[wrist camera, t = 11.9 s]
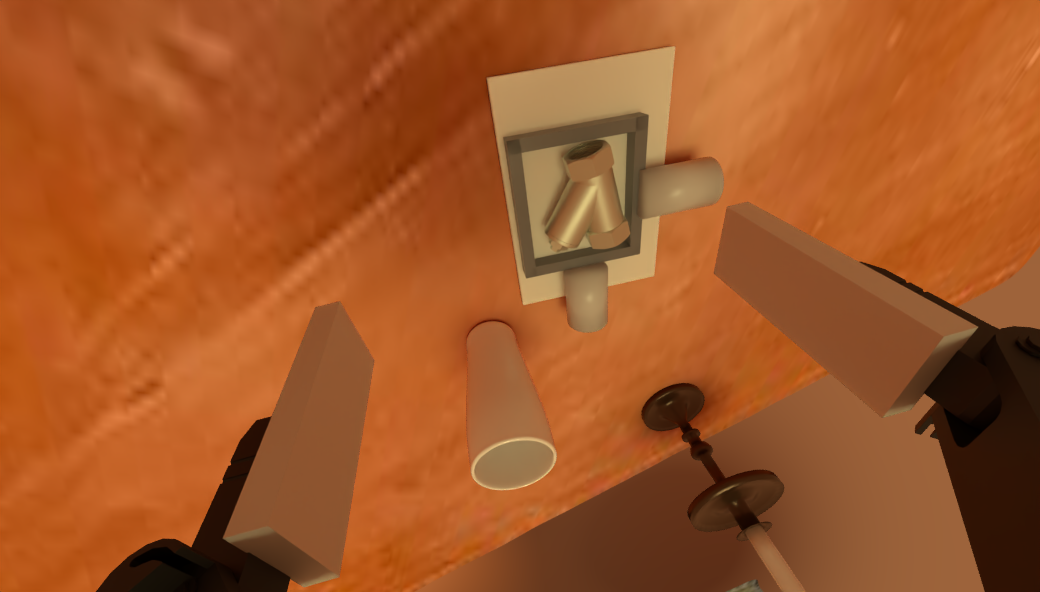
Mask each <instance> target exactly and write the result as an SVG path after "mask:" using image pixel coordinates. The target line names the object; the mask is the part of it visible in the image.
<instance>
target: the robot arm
mask: <svg viewBox="0 0 1040 592" xmlns="http://www.w3.org/2000/svg"><path fill="white" fill-rule="evenodd" d="M714 274H715V275H716V276H717V277H719V278H720V279H721V280H722V281H723V282H724V283H726V284H727V285H728V286H729V287H730V288H731V289H733V290H734V291H735V292H736V293H737V294H738V295H740V296H741V297H742V298H743V299H744V300H745V301H747V302H748V303H749V304H750V305H751V306H752V307H754V308H755V309H756V310H757V311H758V312H759V313H761V314H762V315H763V316H764V317H765V318H766V319H767V320H769V321H770V322H771V323H772V324H773V325H774V326H776V327H777V328H778V329H779V330H780V331H781V332H783V333H784V334H785V335H786V336H787V337H788V338H790V339H791V340H792V341H793V342H794V343H795V344H797V345H798V346H799V347H800V348H801V349H802V350H804V351H805V352H806V353H807V354H808V355H809V356H811V357H812V358H813V359H814V360H815V361H816V362H818V363H819V364H820V365H821V366H822V367H823V368H825V369H826V370H827V371H828V372H829V373H830V374H832V375H833V376H834V377H835V378H836V379H837V380H839V381H840V382H841V383H842V384H843V385H844V386H846V387H847V388H848V389H849V390H850V391H851V392H853V393H854V394H855V395H856V396H857V397H858V398H860V399H861V400H862V401H863V402H864V403H865V404H867V405H868V406H869V407H870V408H871V409H872V410H874V411H875V412H876V413H877V414H878V415H879V416H881V417H882V418H884V417H888V416H891V415H895V414H898V413H901V412H905V411H908V410H911V409H912V408H913V406H914V405H915V404H916V403H917V401H918V400H919V399H920V398H921V397H922V395H923V394H924V393H925V394H926V395H927V396H929V397H930V398H932V399H933V400H934V401H936V403H935V404H934V405H933V406H932V407H931V408H930V410H929V411H928V412H927V413H926V414H925V415H924V417H923V418H922V419H921V420H920V421H919V422H918V424H917V425H916V426H915V433H917V434H920V435H921V434H922V433H923V432H924V431H925V429H927V427H928V426H929V425H930V424H934V427H935V430H934V431H933V433H932V434H931V435H930V437H932V438H936V439H938V440H939V443H940V446H941V449H942V453H943V456H944V459H945V463H946V466H947V469H948V472H949V476H950V479H951V482H952V486H953V489H954V492H955V495H956V498H957V502H958V505H959V508H960V512H961V515H962V518H963V521H964V525H965V528H966V531H967V535H968V538H969V541H970V545H971V548H972V551H973V554H974V557H975V561H976V564H977V567H978V571H979V574H980V577H981V581H982V584H983V587H984V590H985V592H1040V329H1035V328H1030V327H1016V326H1013V327H1007V328H1002V329H998V328H996V327H994V326H991V325H989V324H988V323H986V322H984V321H982V320H980V319H978V318H976V317H974V316H972V315H971V314H969V313H967V312H965V311H963V310H961V309H959V308H957V307H955V306H954V305H952V304H950V303H948V302H946V301H944V300H942V299H940V298H938V297H937V296H935V295H933V294H931V293H929V292H923V289H921V288H919V287H918V286H916V285H914V284H912V283H906V280H904V279H902V278H901V277H899V276H897V275H895V274H893V273H891V272H889V271H887V270H885V269H883V268H879V267H876V266H873V265H870V264H867V263H863V262H858V261H856V260H854V259H852V258H851V257H849V256H847V255H845V254H843V253H841V252H840V251H838V250H836V249H834V248H832V247H830V246H828V245H827V244H825V243H823V242H821V241H819V240H817V239H816V238H814V237H812V236H810V235H808V234H806V233H805V232H803V231H801V230H799V229H797V228H795V227H793V226H792V225H790V224H788V223H786V222H784V221H782V220H781V219H779V218H777V217H775V216H773V215H771V214H770V213H768V212H766V211H764V210H762V209H760V208H759V207H757V206H755V205H753V204H751V203H749V202H745V203H741V204H736V205H732V206H728V207H727V209H726V214H725V219H724V224H723V229H722V234H721V239H720V244H719V249H718V254H717V259H716V264H715V269H714ZM373 365H374V359H373V357H372V355H371V354H370V352H369V350H368V349H367V347H366V345H365V343H364V342H363V340H362V338H361V337H360V335H359V333H358V331H357V330H356V328H355V326H354V325H353V323H352V321H351V319H350V318H349V316H348V314H347V313H346V311H345V309H344V307H343V306H342V304H341V302H340V301H339V302H335V303H331V304H327V305H323V306H318V307H315V310H314V312H313V315H312V317H311V320H310V322H309V325H308V327H307V330H306V332H305V335H304V337H303V340H302V342H301V345H300V347H299V350H298V352H297V355H296V357H295V360H294V362H293V365H292V367H291V370H290V372H289V375H288V377H287V380H286V382H285V385H284V387H283V390H282V392H281V395H280V397H279V400H278V402H277V404H276V407H275V409H274V412H273V414H272V416H271V417H267V418H263V419H260V420H256V422H255V423H254V424H253V425H252V426H251V428H250V429H249V430H248V431H247V433H246V434H245V435H244V436H243V438H242V439H241V440H240V442H239V444H238V446H237V448H236V451H235V453H234V455H233V457H232V459H231V461H230V462H231V465H230V466H228V468H227V470H226V472H225V475H224V477H223V479H222V480H223V483H222V484H220V486H219V488H218V490H217V492H216V494H215V497H214V499H213V501H212V503H211V505H210V508H209V510H208V512H207V514H206V516H205V519H204V521H203V523H202V525H201V527H200V530H199V532H198V534H197V536H196V538H195V541H194V543H193V545H192V547H189V546H188V545H186V544H184V543H182V542H180V541H178V540H176V539H161V540H158V541H155V542H153V543H150V544H147V545H145V546H144V547H142V548H141V549H139V550H138V551H136V552H135V553H133V554H132V555H130V556H129V557H127V558H126V559H125V560H124V561H123V562H122V563H121V564H120V565H119V566H118V567H117V568H116V569H115V570H113V571H112V572H111V573H110V574H109V576H108V577H107V578H106V579H105V581H104V582H103V583H102V585H101V586H100V587H99V588H98V590H97V591H96V592H287V589H288V585H289V581H290V579H291V580H293V581H294V582H296V583H298V584H300V585H301V586H303V587H307V586H310V585H314V584H317V583H320V582H324V581H327V580H331V579H334V578H338V577H339V576H340V570H341V564H342V558H343V552H344V545H345V539H346V533H347V527H348V521H349V514H350V508H351V502H352V496H353V490H354V483H355V477H356V471H357V465H358V458H359V452H360V446H361V440H362V434H363V427H364V421H365V415H366V409H367V403H368V396H369V390H370V384H371V378H372V372H373Z"/></svg>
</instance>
